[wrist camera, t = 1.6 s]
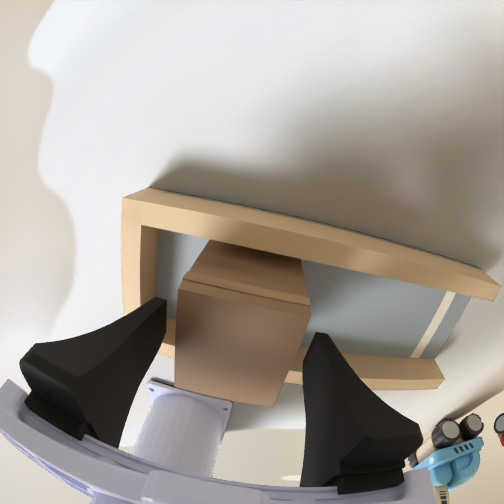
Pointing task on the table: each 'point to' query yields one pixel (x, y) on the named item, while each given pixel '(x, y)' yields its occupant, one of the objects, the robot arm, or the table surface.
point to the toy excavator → (450, 455)
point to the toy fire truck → (500, 427)
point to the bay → (310, 281)
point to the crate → (239, 323)
